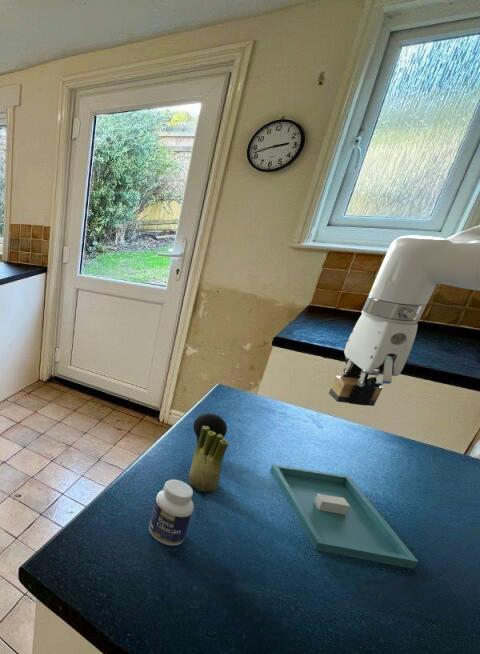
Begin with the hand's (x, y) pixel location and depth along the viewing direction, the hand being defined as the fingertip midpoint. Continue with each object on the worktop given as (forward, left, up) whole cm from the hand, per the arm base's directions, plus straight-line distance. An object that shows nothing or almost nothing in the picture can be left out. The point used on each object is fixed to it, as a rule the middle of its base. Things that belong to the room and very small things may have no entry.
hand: (351, 397), depth 82 cm
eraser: (0, 0, 0) cm, 0 cm away
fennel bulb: (+28, +18, -14) cm, 36 cm away
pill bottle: (+36, +32, -14) cm, 50 cm away
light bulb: (+26, +8, -14) cm, 30 cm away
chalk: (+8, +19, -13) cm, 24 cm away
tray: (+8, +20, -13) cm, 26 cm away
